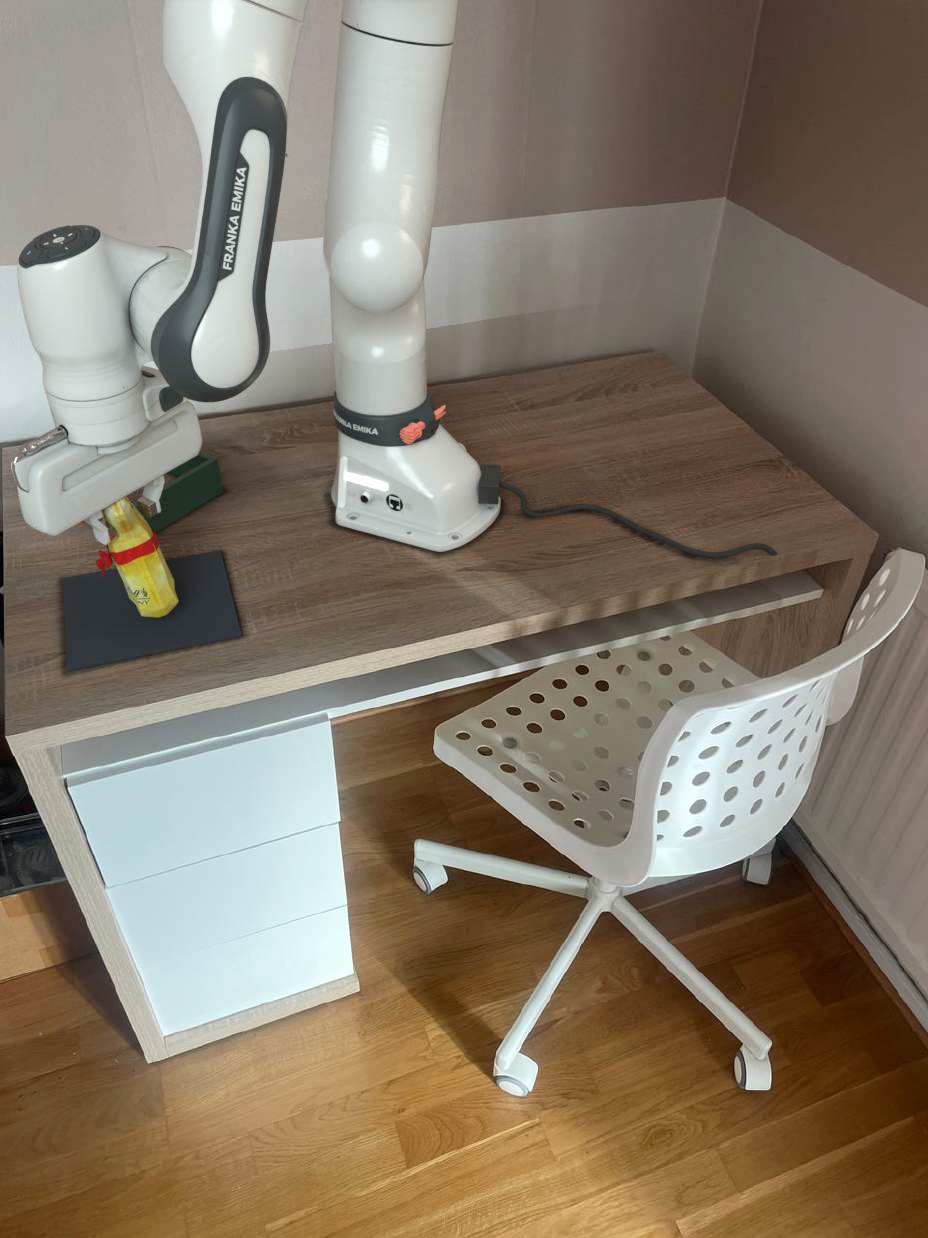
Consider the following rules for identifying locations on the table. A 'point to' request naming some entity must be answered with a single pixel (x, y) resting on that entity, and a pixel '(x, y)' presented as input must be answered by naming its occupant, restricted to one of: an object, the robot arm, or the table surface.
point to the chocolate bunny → (138, 560)
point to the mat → (117, 631)
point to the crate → (187, 490)
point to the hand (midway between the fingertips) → (129, 526)
